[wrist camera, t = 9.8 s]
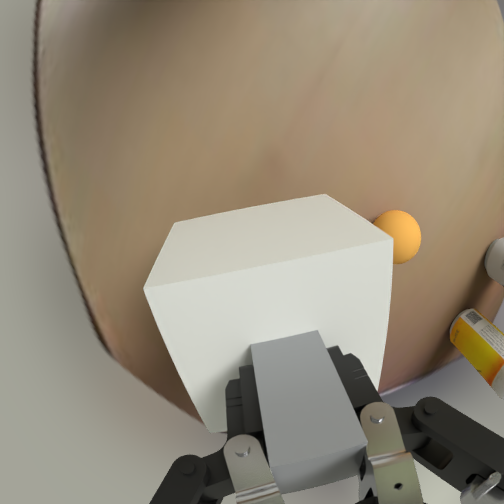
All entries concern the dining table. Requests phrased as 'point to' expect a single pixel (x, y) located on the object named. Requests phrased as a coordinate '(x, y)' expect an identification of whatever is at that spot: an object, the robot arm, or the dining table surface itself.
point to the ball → (400, 234)
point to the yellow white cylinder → (480, 346)
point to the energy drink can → (495, 261)
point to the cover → (278, 323)
